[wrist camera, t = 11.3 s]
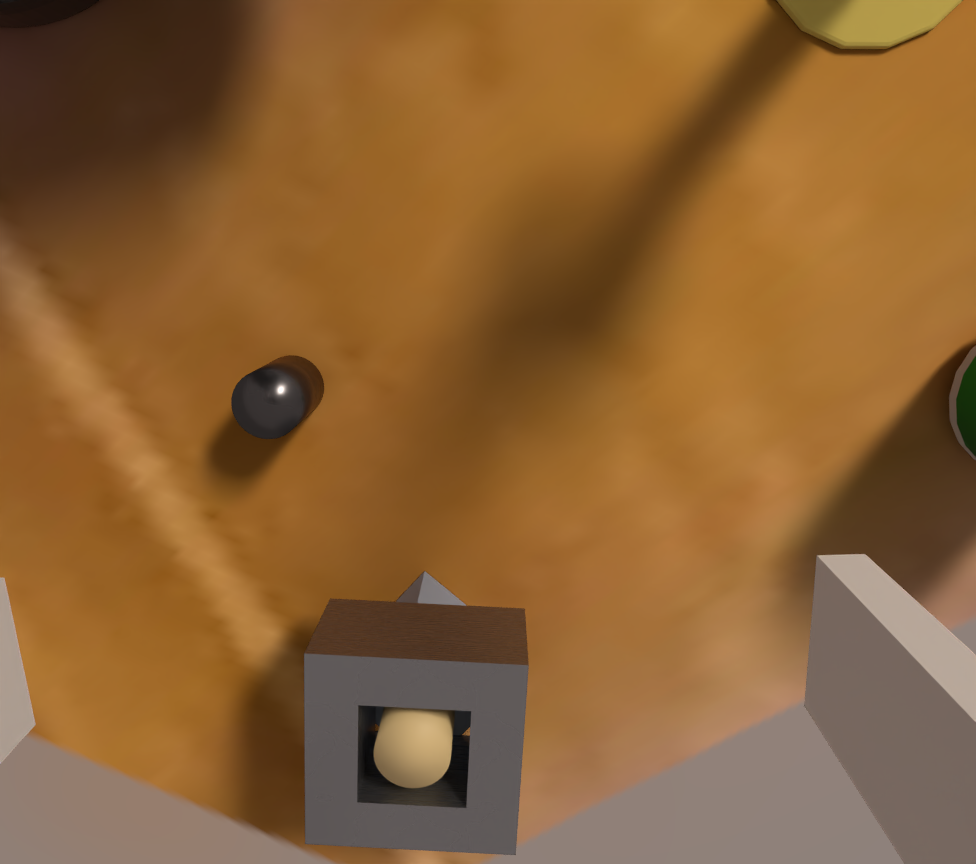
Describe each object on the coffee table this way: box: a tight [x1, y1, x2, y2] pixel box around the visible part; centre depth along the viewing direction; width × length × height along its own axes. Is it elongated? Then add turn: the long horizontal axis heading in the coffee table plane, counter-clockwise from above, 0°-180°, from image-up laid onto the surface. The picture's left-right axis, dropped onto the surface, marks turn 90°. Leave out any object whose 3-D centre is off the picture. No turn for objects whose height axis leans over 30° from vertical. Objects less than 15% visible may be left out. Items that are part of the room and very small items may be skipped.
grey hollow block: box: [304, 599, 529, 855], centre depth 35 cm, size 9×9×5 cm
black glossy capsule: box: [231, 356, 324, 439], centre depth 36 cm, size 3×3×4 cm
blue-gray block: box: [374, 571, 471, 788], centre depth 37 cm, size 6×6×9 cm
